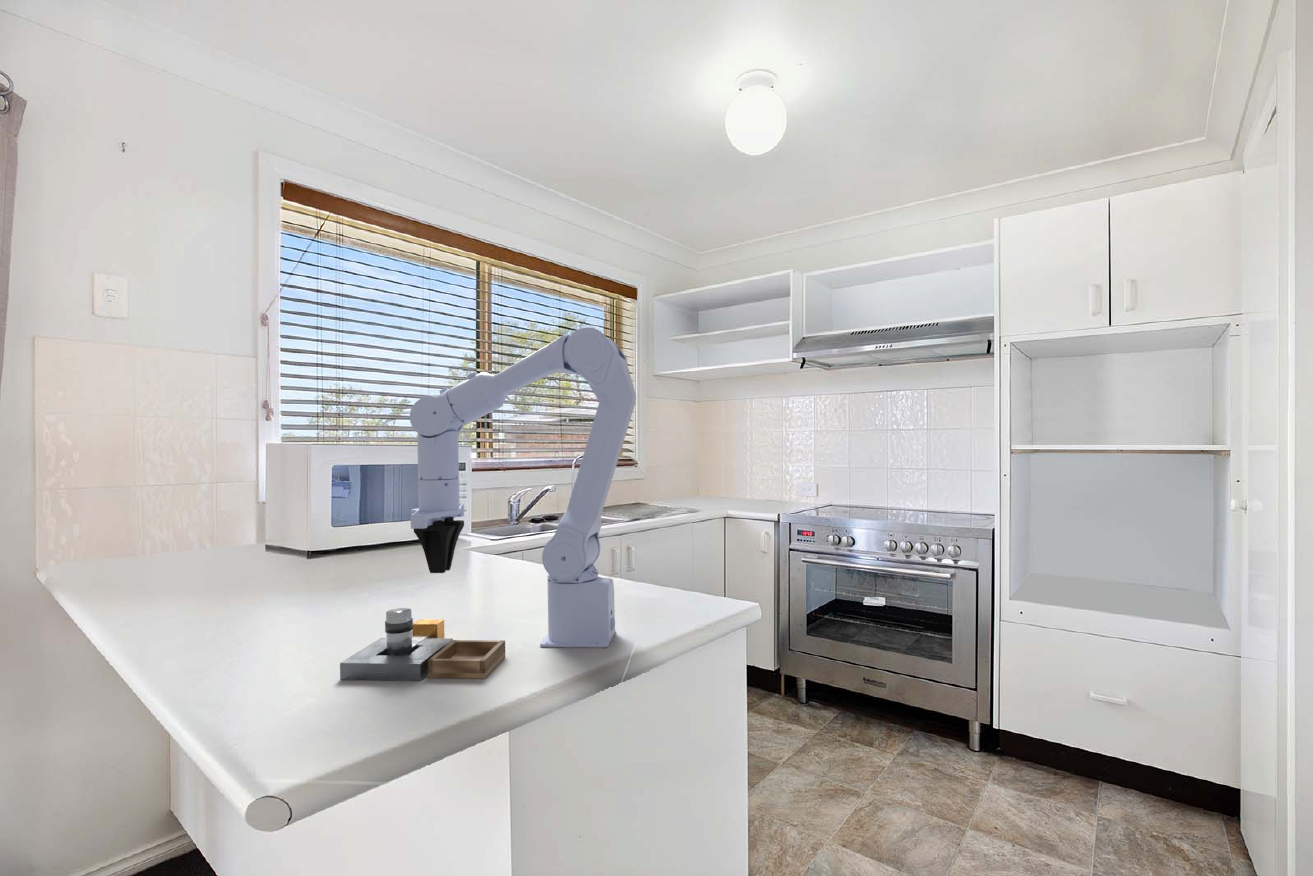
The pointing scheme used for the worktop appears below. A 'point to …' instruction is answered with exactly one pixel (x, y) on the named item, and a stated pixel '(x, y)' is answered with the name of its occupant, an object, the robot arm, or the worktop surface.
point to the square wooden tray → (466, 659)
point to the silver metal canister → (399, 632)
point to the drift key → (426, 630)
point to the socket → (391, 662)
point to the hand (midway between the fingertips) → (440, 571)
